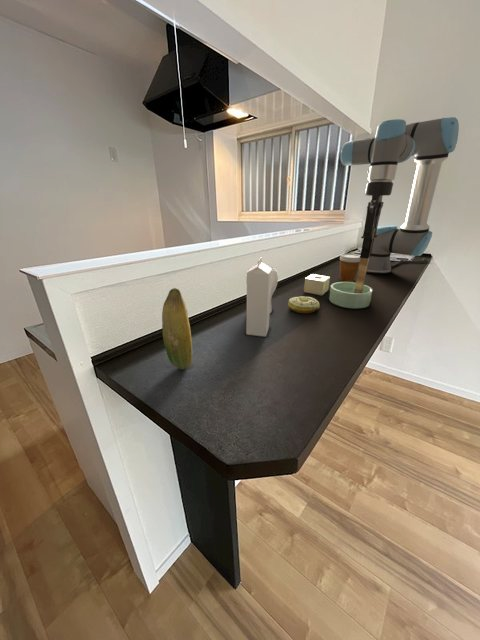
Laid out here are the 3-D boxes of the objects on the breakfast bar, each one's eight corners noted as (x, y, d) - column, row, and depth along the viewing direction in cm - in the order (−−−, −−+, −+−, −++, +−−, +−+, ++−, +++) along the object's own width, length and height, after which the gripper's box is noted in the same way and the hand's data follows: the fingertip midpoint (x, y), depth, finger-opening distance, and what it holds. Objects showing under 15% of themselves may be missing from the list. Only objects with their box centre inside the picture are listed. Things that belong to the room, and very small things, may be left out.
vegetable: (199, 371, 62) (192, 291, 53) (173, 381, 59) (162, 297, 50) (189, 359, 66) (181, 283, 58) (164, 367, 63) (152, 288, 55)
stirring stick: (354, 294, 100) (367, 228, 90) (361, 295, 99) (375, 228, 89) (353, 296, 98) (366, 228, 88) (360, 297, 97) (374, 229, 87)
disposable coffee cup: (335, 282, 125) (339, 256, 120) (336, 277, 133) (340, 253, 128) (356, 284, 122) (362, 258, 116) (357, 279, 129) (362, 254, 124)
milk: (246, 334, 78) (246, 260, 69) (250, 325, 84) (250, 256, 74) (266, 337, 77) (269, 261, 67) (269, 327, 82) (272, 256, 73)
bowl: (334, 293, 111) (337, 279, 108) (372, 300, 103) (375, 285, 101) (323, 304, 100) (326, 289, 97) (364, 313, 92) (368, 296, 90)
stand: (310, 287, 119) (312, 274, 116) (328, 290, 114) (330, 276, 112) (303, 291, 113) (305, 278, 110) (322, 295, 108) (324, 281, 106)
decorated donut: (324, 312, 93) (326, 302, 91) (299, 317, 89) (300, 306, 88) (306, 302, 102) (307, 292, 100) (283, 306, 98) (283, 296, 96)
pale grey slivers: (273, 305, 99) (275, 265, 93) (278, 316, 90) (280, 273, 83) (245, 305, 99) (245, 265, 92) (246, 317, 89) (247, 274, 83)
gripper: (371, 182, 90) (358, 252, 100) (362, 181, 78) (348, 260, 89) (396, 182, 86) (380, 254, 96) (390, 180, 75) (372, 262, 85)
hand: (365, 256), depth 92 cm, fingers closed on stirring stick, 2 cm apart
